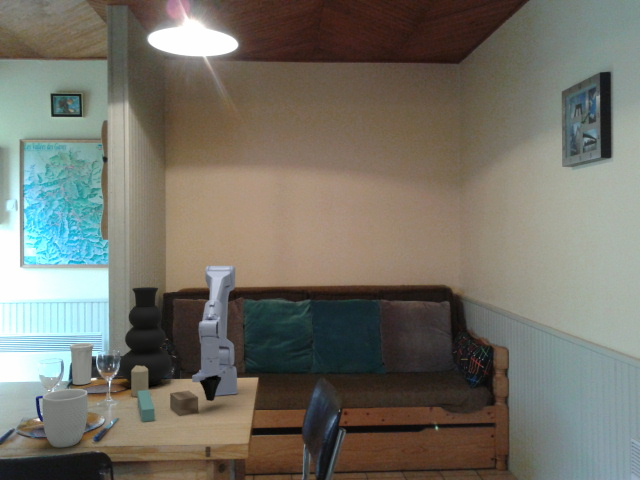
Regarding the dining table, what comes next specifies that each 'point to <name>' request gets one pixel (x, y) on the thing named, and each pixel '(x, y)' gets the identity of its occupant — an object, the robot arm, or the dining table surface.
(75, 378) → the cup
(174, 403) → the block
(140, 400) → the teal rectangular bar
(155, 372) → the vase
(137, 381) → the candle
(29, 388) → the dining table surface
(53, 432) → the mug
